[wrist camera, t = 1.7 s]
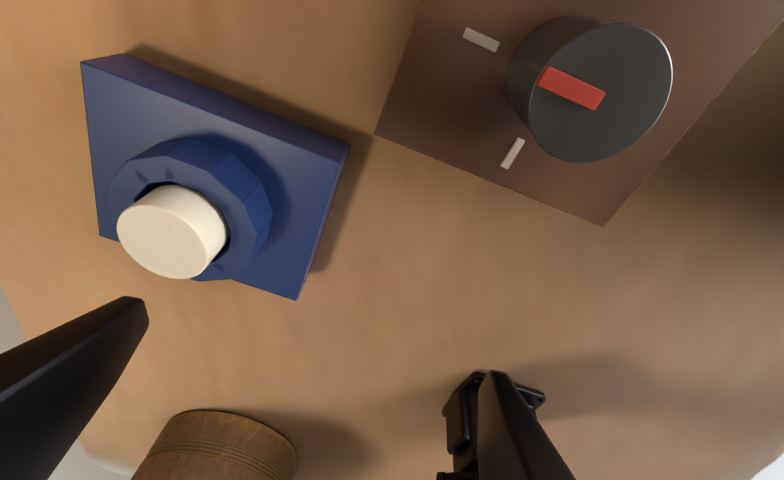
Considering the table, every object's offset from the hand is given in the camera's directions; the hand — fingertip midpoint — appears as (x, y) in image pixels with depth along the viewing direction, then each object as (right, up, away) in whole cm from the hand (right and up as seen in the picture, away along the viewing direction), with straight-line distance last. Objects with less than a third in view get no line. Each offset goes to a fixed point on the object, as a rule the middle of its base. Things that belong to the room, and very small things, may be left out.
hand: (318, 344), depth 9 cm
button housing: (-8, +6, +12) cm, 16 cm away
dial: (+8, +9, +5) cm, 13 cm away
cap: (-8, +4, +8) cm, 12 cm away
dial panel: (+9, +11, +7) cm, 16 cm away
